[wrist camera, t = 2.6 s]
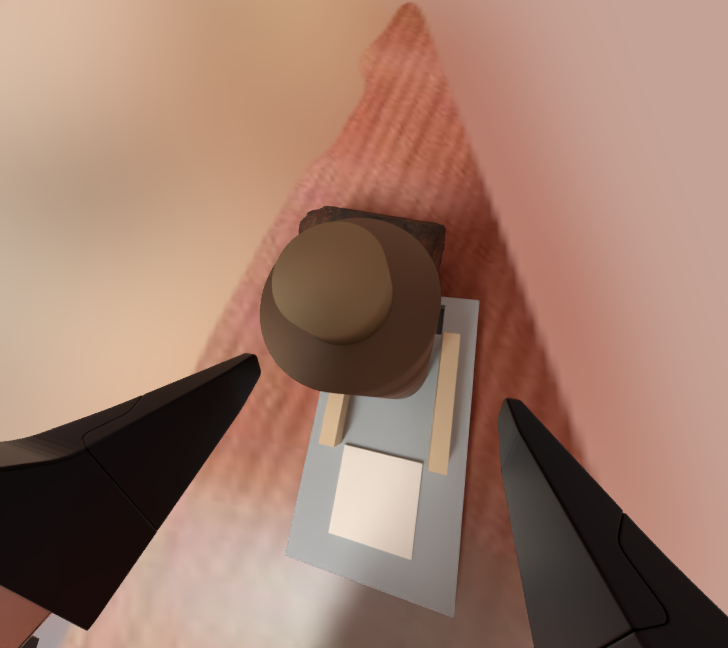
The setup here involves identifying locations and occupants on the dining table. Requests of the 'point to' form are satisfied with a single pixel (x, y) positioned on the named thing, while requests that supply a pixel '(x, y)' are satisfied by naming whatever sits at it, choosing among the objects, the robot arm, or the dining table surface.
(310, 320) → the pepper mill
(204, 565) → the dining table surface
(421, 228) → the brick
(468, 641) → the dining table surface
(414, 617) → the dining table surface
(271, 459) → the dining table surface
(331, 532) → the board
